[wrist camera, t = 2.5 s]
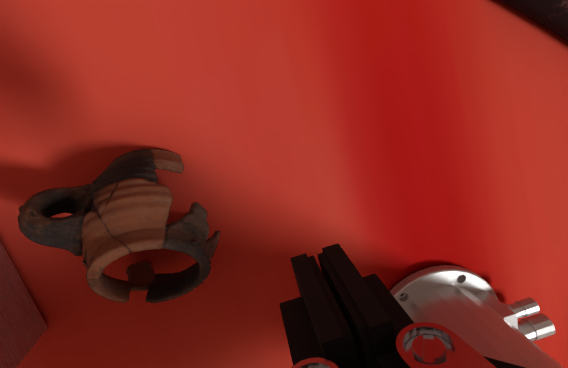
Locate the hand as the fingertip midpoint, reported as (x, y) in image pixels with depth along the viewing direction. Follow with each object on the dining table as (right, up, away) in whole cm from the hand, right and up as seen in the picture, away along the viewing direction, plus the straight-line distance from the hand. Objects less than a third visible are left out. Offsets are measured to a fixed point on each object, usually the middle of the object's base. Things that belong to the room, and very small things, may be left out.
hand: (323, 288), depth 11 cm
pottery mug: (-12, +2, +15) cm, 19 cm away
